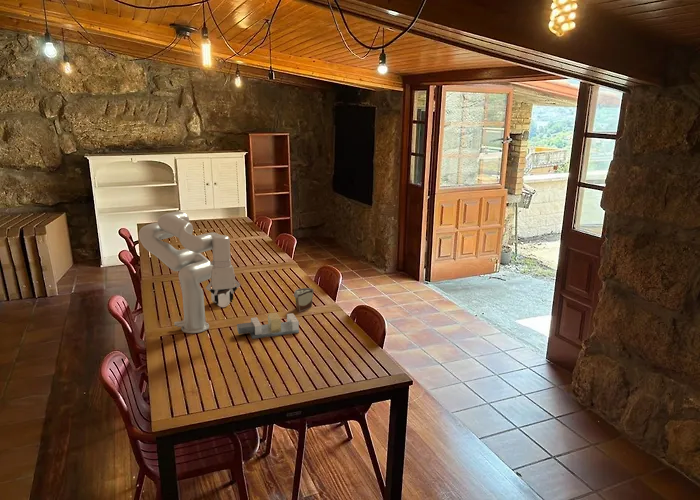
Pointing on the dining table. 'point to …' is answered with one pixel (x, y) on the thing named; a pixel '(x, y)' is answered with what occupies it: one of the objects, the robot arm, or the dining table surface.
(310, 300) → the food container
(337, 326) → the dining table surface
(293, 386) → the dining table surface
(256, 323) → the vise jaw
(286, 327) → the vise
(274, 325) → the brass block
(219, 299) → the spread jar
